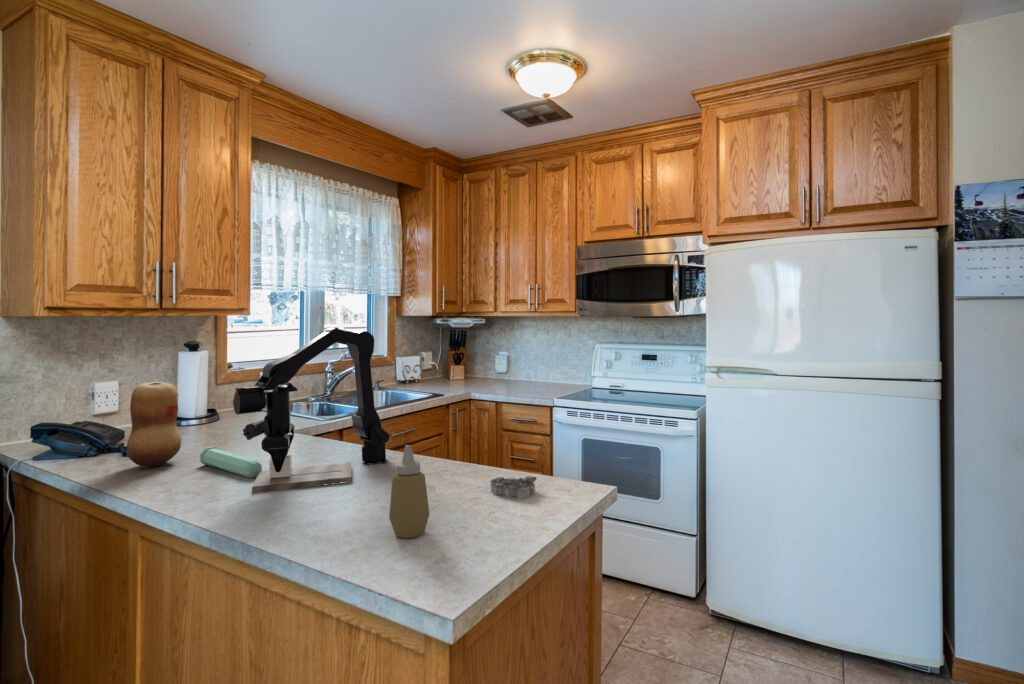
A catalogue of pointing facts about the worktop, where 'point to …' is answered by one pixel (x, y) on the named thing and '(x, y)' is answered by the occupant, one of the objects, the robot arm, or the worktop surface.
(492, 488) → the egg carton
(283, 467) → the fader knob
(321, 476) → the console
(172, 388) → the butternut squash
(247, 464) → the container
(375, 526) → the worktop surface
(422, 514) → the squeeze bottle
